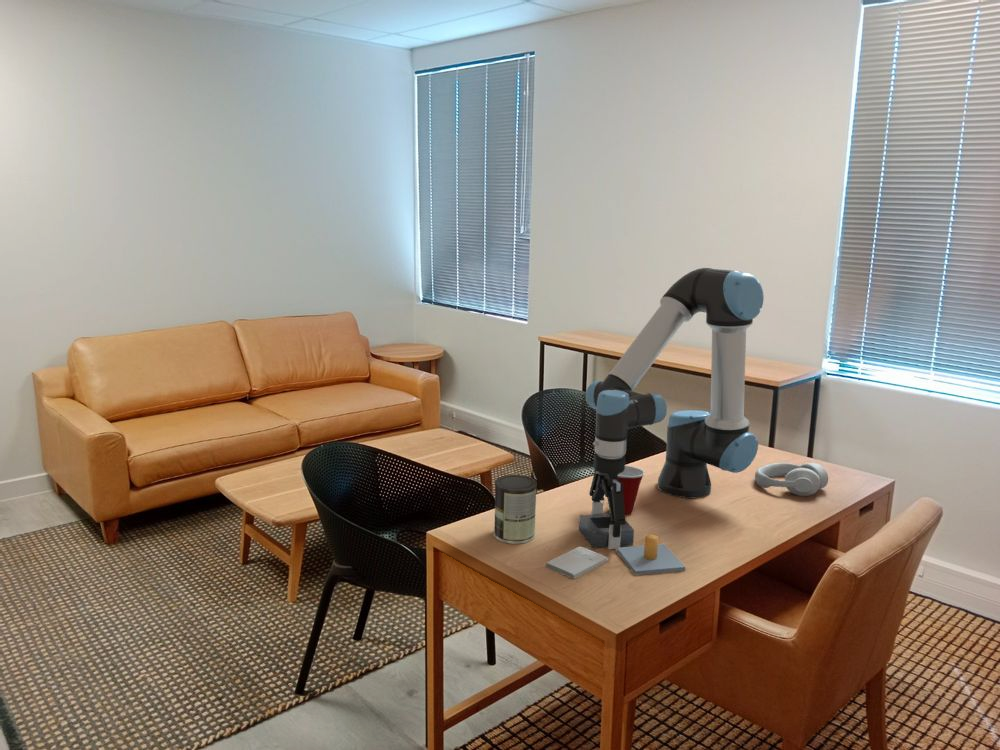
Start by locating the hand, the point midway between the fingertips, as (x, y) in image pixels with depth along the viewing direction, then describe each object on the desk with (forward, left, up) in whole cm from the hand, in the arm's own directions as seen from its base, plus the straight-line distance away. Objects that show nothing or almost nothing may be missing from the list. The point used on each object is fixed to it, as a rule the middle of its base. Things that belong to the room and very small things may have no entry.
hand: (605, 536), depth 194 cm
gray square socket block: (0, 0, 0) cm, 0 cm away
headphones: (-66, -25, -1) cm, 71 cm away
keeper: (-6, +14, 0) cm, 15 cm away
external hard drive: (+11, +12, -1) cm, 17 cm away
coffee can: (+22, -5, 0) cm, 22 cm away
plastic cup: (-10, -15, 0) cm, 18 cm away
